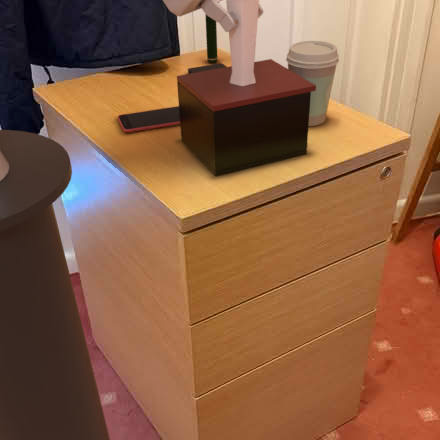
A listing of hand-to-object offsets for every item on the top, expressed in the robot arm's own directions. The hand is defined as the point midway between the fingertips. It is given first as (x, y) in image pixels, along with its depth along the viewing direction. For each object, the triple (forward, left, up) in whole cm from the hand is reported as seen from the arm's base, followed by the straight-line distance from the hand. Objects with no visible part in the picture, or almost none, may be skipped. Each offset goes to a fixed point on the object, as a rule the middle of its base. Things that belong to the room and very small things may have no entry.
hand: (246, 22), depth 80 cm
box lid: (0, +1, -9) cm, 9 cm away
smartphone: (-8, +17, -19) cm, 27 cm away
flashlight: (+13, +41, -19) cm, 47 cm away
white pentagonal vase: (0, +1, -8) cm, 8 cm away
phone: (+9, +29, -19) cm, 36 cm away
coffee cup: (+15, +5, -19) cm, 25 cm away
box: (0, +1, -19) cm, 19 cm away
